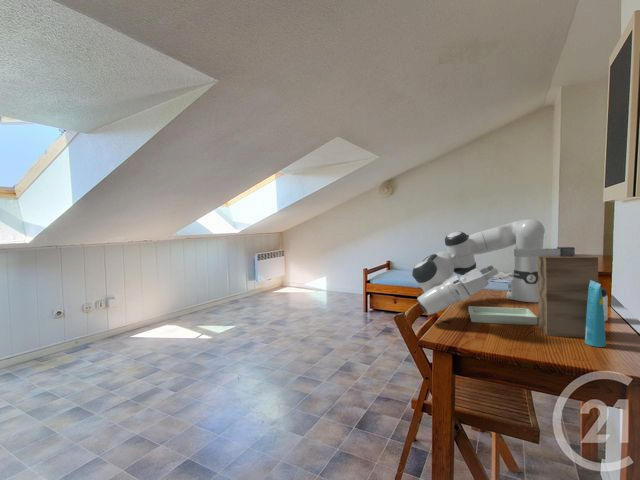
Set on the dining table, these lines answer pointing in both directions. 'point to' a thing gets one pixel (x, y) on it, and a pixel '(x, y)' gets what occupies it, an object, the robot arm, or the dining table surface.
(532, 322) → the tray
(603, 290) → the jar
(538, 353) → the dining table surface
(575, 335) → the stand
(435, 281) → the robot arm
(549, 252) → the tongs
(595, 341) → the tube
